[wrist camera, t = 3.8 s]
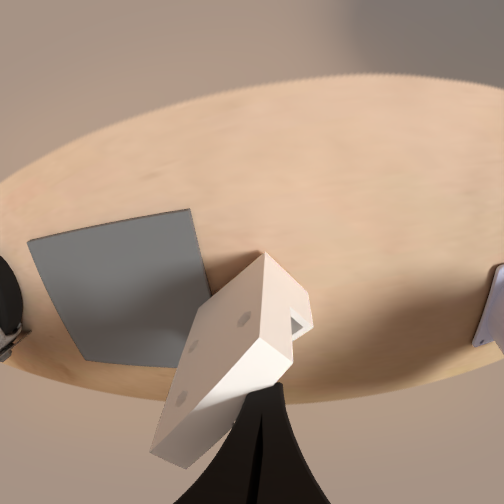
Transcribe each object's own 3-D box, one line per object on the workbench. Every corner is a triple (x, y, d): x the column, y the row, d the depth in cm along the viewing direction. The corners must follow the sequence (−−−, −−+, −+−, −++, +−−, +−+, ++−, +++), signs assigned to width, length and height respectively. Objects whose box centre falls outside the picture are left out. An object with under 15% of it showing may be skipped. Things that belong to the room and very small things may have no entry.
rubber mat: (190, 208, 15) (188, 210, 15) (231, 364, 20) (230, 368, 20) (29, 240, 17) (26, 242, 17) (87, 357, 22) (85, 360, 22)
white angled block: (150, 363, 17) (149, 452, 9) (249, 248, 18) (320, 262, 10) (193, 392, 18) (219, 482, 10) (288, 284, 19) (371, 318, 11)
